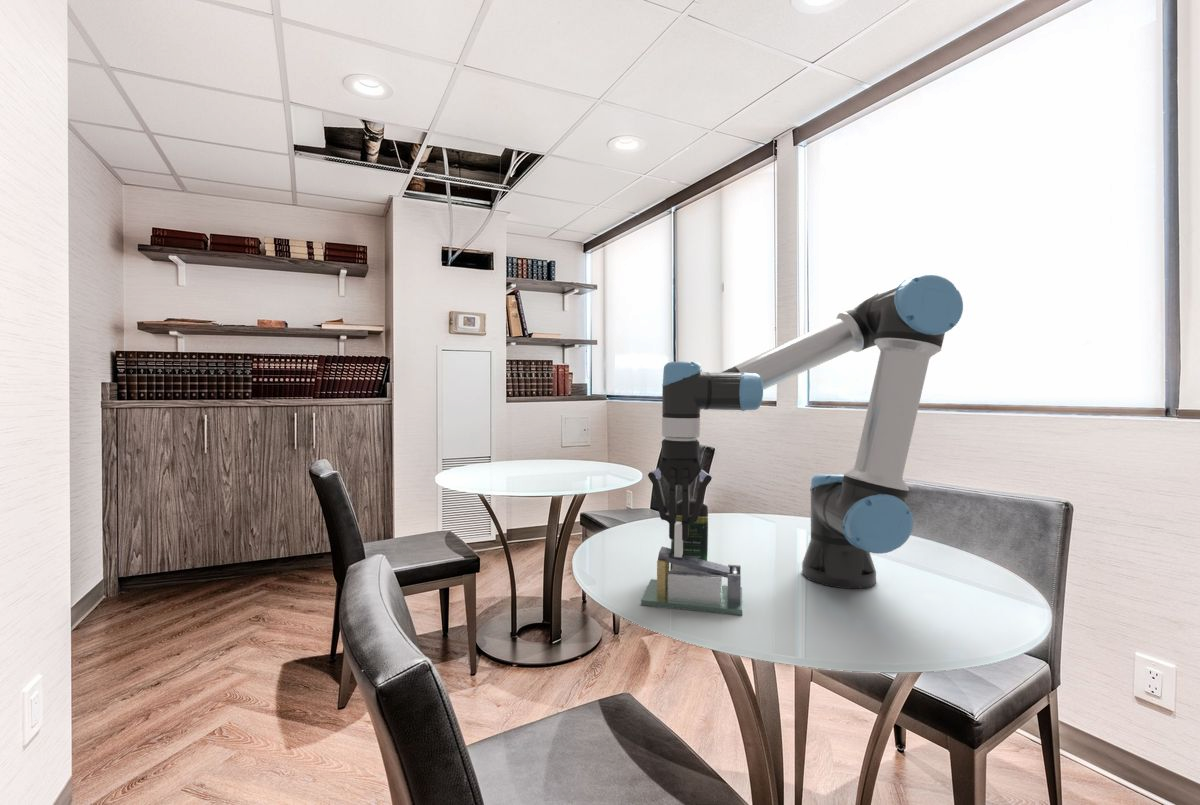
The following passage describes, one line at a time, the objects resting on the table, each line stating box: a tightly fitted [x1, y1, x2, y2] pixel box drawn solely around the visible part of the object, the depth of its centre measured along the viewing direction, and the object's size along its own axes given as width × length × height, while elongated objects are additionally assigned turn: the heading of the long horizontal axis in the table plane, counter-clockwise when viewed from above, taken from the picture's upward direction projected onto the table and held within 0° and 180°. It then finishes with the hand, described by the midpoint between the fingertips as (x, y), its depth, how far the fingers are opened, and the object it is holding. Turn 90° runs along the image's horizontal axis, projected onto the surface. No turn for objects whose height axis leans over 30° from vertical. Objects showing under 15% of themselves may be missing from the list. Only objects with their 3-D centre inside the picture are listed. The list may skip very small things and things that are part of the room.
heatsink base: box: [640, 559, 743, 616], centre depth 107 cm, size 19×12×8 cm, turn 75°
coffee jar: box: [669, 498, 709, 571], centre depth 117 cm, size 10×8×19 cm
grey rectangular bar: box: [657, 546, 730, 579], centre depth 107 cm, size 14×4×2 cm, turn 75°
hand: (678, 555), depth 107 cm, fingers closed
